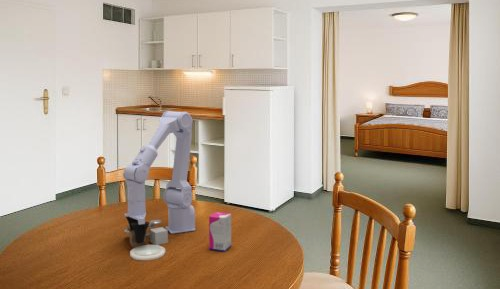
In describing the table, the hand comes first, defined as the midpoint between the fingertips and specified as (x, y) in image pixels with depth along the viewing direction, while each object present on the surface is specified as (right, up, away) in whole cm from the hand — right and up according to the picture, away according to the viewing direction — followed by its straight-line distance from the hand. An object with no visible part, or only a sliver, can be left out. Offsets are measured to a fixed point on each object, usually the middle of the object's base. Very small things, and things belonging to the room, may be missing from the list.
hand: (137, 239), depth 153 cm
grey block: (+7, -2, +2) cm, 7 cm away
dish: (+5, -3, -8) cm, 10 cm away
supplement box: (+28, -3, -3) cm, 28 cm away
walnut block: (0, -2, 0) cm, 2 cm away
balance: (0, -1, +8) cm, 8 cm away
